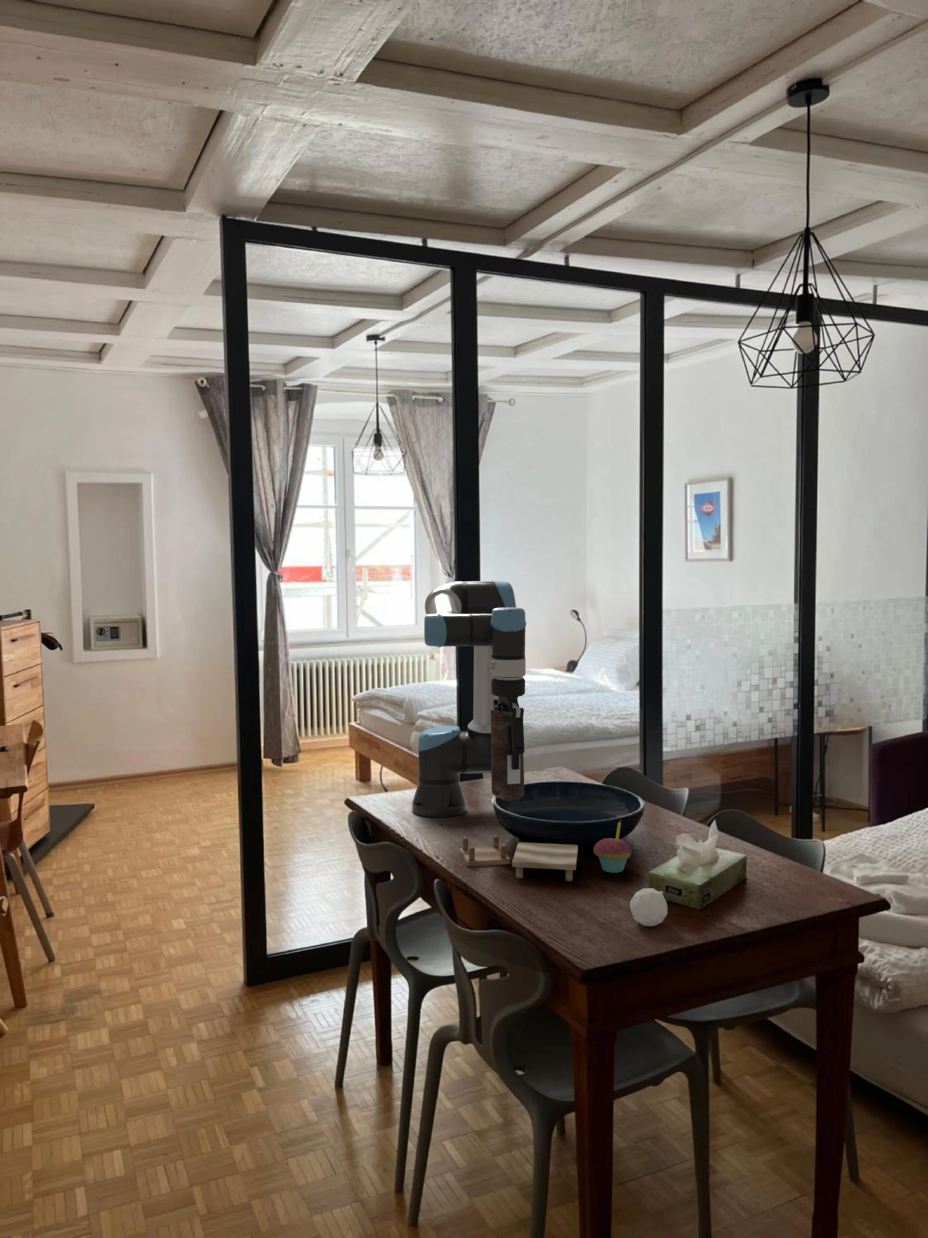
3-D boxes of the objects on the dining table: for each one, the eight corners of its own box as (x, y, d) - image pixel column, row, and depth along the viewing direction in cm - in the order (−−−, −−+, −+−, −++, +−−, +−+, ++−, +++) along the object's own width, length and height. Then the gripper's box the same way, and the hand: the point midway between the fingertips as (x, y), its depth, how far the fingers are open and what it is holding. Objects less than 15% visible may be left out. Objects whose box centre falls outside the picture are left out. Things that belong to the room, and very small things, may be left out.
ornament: (645, 913, 190) (670, 886, 188) (656, 940, 183) (682, 912, 181) (618, 900, 188) (643, 872, 185) (628, 927, 181) (654, 898, 179)
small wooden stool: (518, 858, 224) (518, 842, 223) (577, 862, 222) (577, 845, 221) (512, 879, 210) (512, 861, 210) (575, 882, 208) (575, 865, 207)
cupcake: (638, 869, 217) (639, 818, 216) (617, 878, 210) (618, 826, 209) (607, 860, 222) (607, 810, 222) (585, 869, 216) (586, 818, 215)
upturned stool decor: (459, 853, 228) (459, 837, 228) (499, 850, 230) (499, 834, 230) (467, 866, 218) (467, 849, 218) (509, 864, 220) (509, 847, 220)
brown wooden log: (483, 797, 211) (484, 708, 209) (504, 791, 217) (505, 704, 215) (510, 803, 206) (511, 713, 204) (531, 797, 212) (531, 708, 210)
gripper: (478, 672, 218) (478, 770, 220) (507, 684, 198) (506, 791, 200) (509, 671, 220) (508, 767, 222) (540, 683, 201) (539, 789, 202)
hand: (507, 779), depth 211 cm, fingers closed on brown wooden log, 7 cm apart
